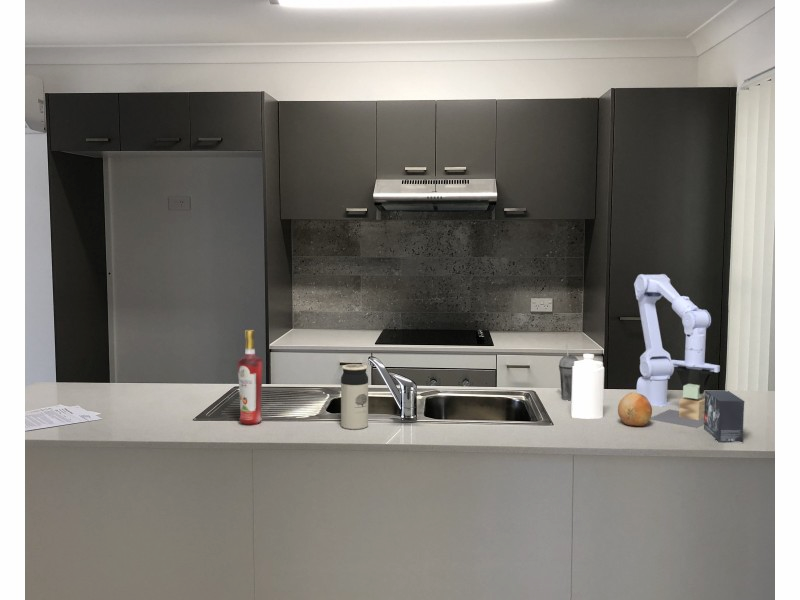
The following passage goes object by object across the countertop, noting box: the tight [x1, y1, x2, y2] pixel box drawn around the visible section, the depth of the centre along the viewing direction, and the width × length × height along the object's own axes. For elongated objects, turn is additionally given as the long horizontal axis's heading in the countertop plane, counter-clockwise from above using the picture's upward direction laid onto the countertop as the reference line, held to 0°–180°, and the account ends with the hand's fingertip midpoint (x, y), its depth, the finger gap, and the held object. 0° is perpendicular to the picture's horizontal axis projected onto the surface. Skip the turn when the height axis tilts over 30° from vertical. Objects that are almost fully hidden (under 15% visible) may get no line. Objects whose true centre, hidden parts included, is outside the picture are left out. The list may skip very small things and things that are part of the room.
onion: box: [617, 392, 653, 427], centre depth 213 cm, size 10×10×10 cm
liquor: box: [237, 329, 264, 426], centre depth 212 cm, size 7×7×28 cm
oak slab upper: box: [678, 397, 705, 411], centre depth 223 cm, size 6×6×3 cm
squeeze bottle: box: [570, 353, 605, 420], centre depth 222 cm, size 10×20×5 cm
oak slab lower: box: [678, 407, 705, 420], centre depth 223 cm, size 6×6×3 cm
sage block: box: [682, 383, 704, 399], centre depth 222 cm, size 4×4×4 cm
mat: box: [649, 408, 704, 429], centre depth 221 cm, size 15×17×1 cm
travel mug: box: [340, 363, 369, 430], centre depth 210 cm, size 8×8×18 cm
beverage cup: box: [558, 342, 579, 402], centre depth 247 cm, size 7×7×20 cm
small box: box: [703, 390, 745, 443], centre depth 202 cm, size 13×7×12 cm, turn 174°
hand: (693, 392), depth 222 cm, fingers closed on sage block, 4 cm apart
